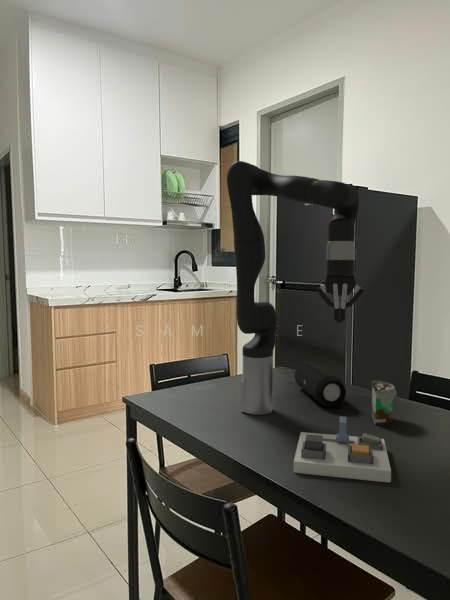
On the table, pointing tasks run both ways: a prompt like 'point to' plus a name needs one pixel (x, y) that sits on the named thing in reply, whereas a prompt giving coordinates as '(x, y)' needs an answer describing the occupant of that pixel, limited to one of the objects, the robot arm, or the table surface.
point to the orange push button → (360, 449)
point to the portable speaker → (320, 384)
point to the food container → (382, 402)
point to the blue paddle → (342, 431)
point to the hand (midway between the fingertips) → (339, 322)
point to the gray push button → (313, 442)
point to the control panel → (343, 459)
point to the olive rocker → (370, 439)
